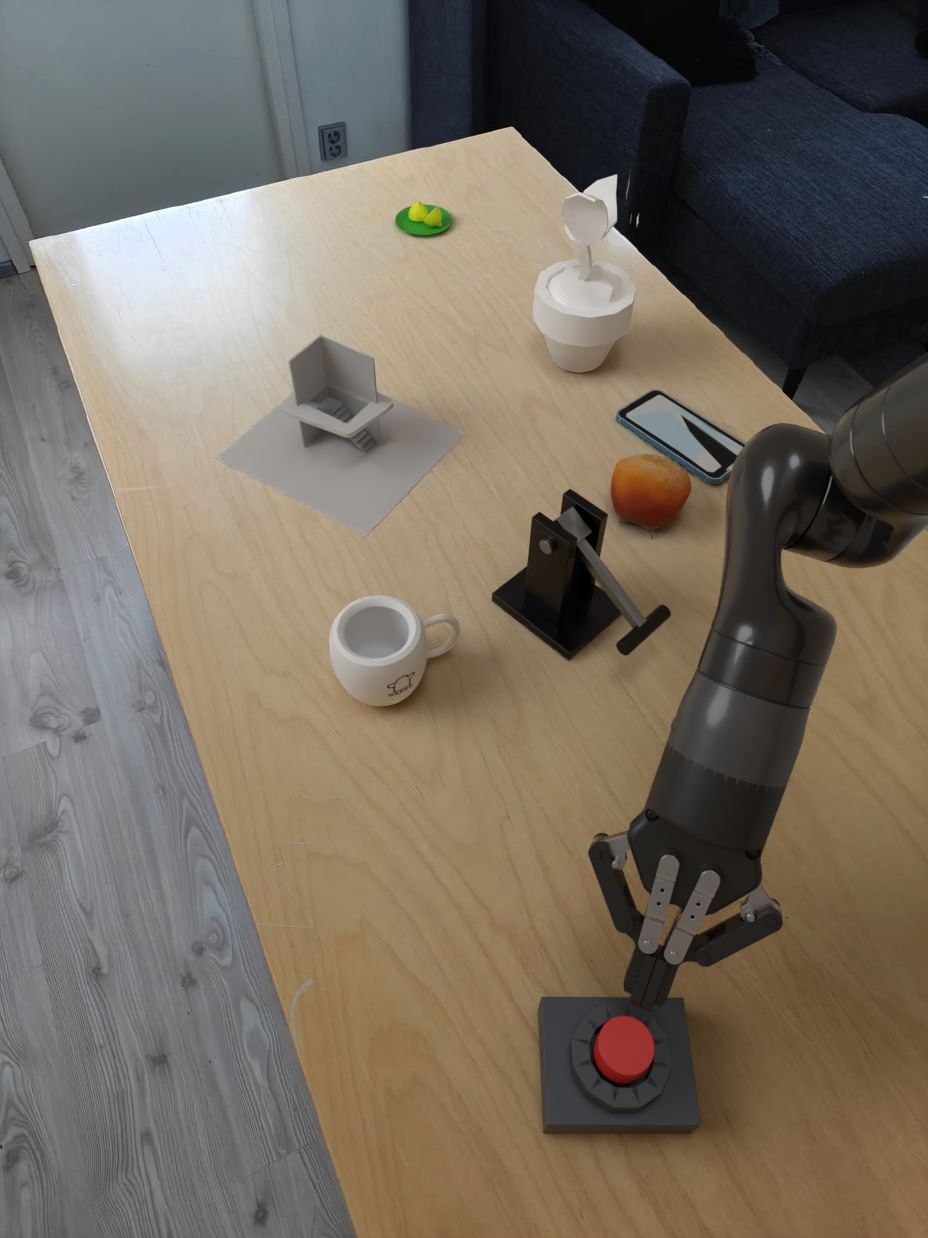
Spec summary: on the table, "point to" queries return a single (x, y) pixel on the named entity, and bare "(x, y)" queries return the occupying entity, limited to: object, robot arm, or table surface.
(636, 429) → the smartphone
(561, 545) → the bracket
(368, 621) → the mug
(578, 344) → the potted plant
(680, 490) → the fruit
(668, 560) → the table surface
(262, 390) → the table surface
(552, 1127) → the button block
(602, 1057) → the button
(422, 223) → the plate of lemons
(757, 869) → the robot arm
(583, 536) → the lever
